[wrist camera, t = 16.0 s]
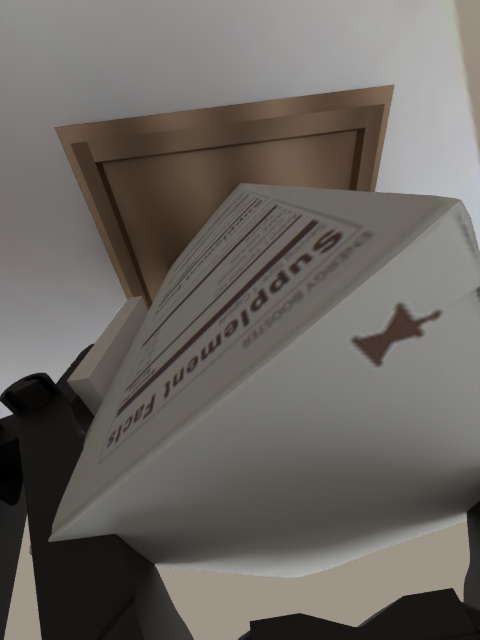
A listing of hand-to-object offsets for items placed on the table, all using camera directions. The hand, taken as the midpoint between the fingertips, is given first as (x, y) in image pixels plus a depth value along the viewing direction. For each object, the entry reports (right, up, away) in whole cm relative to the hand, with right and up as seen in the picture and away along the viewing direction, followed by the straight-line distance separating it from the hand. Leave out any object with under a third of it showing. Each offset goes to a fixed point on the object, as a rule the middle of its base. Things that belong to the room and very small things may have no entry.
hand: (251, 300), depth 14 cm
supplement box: (0, +3, +5) cm, 6 cm away
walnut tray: (-1, +4, +6) cm, 7 cm away
